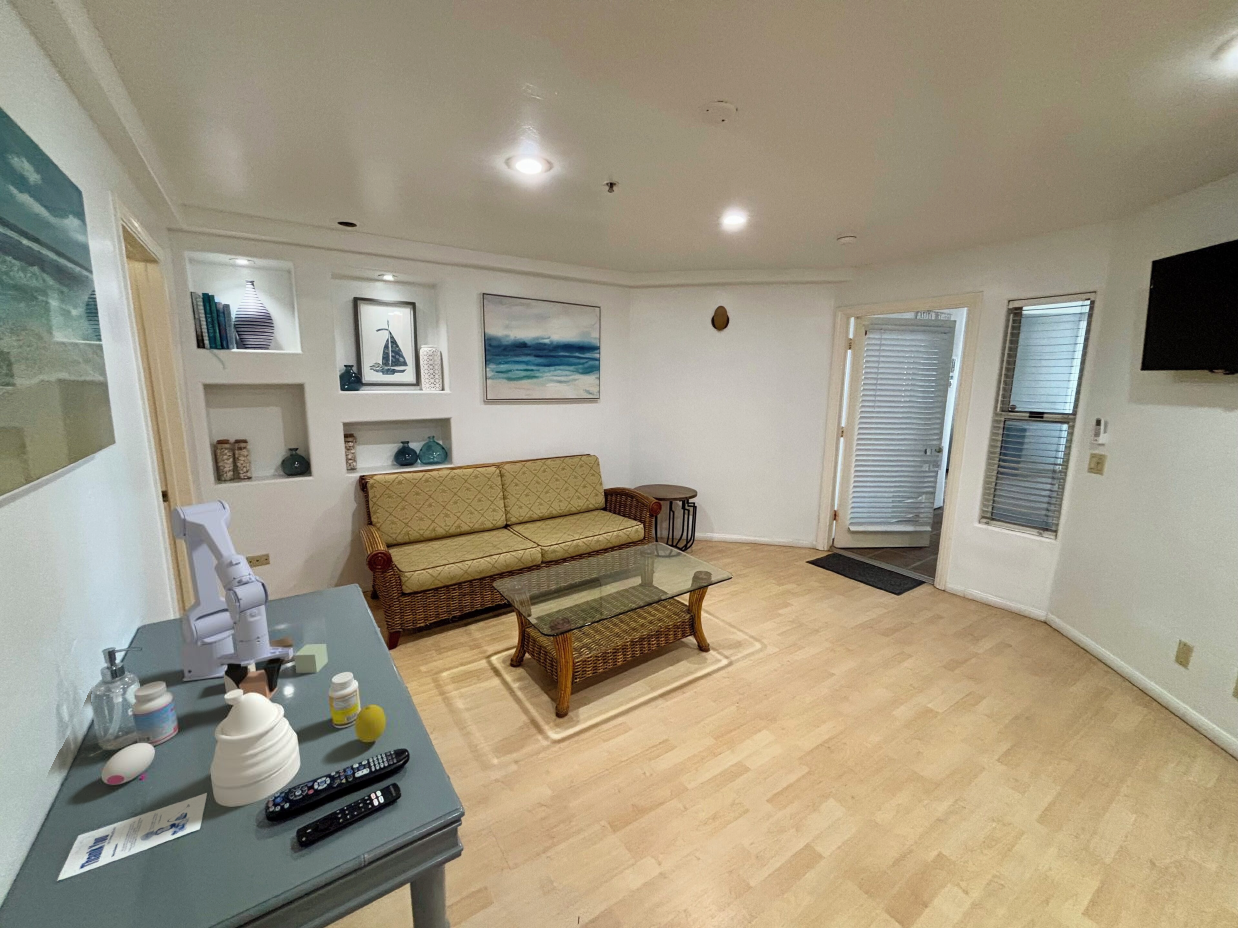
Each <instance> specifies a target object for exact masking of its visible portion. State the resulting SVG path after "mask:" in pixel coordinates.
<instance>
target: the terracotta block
mask: <svg viewBox="0 0 1238 928" xmlns="http://www.w3.org/2000/svg"><path fill="white" fill-rule="evenodd" d="M239 688H240V689H242V690H243V695H245V694H247V693H250V692H251V693H258V694H261V695H263V696H264V697H266V698H267V699H269V700H270V699H271V698H272V697H273V695H274V694H275V693H276V691H277V690H279V687H278V686H277V687H276V689H275V690H274V691H273V692H270V691H269V687H268V679H267V676H266V673H265V671H264V669H262V670H256V671H252V672H250V673H249V674H248V675H247V676H246V677H245V679H244V680H243V681H242V682H241V683H240V684H239Z"/></svg>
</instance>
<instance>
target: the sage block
mask: <svg viewBox="0 0 1238 928" xmlns="http://www.w3.org/2000/svg"><path fill="white" fill-rule="evenodd" d="M294 658H295V661H294V663H295V672H296V674H315V673H316V674H317V673H319V671H320V670H321V669H322V668H323V667H324V666H325V665H326V664H327V663H329V658H328V651H327V643H317V644H315V643H313V644H311V643H309V644H305V645H304V646H303V647H302V648H301V649H300V650H298V651H297V652H296V653H294Z"/></svg>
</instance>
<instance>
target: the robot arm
mask: <svg viewBox="0 0 1238 928" xmlns="http://www.w3.org/2000/svg"><path fill="white" fill-rule="evenodd" d="M231 519H232V514H231V509H230V506H229V505H228V503H227V502H226V501H225V500H224V499H223V500H222V499H219V500H217V501H211V502H205V503H204V502H203V503H199V504H192V505H186V506H175V507H173V509H172V510H170V514H169V520H170V526H171V531H172V535H173V538H174V539H175V540H183V542H184V545H185V549H186V555H187V562H188V567H189V573H190V579H191V585H192V591H193V595H194V602H193V604H191V605H190V606H189V607H188V608H187V609H186V610H184V611H183V613H182V616H181V619H182V620H181V621H182V624H181V629H182V635H183V636H184V637H183V638H184V639H185V641H186V642H184V645H183V646H182V649H181V662H182V667H183V675H184V677H183V679H182V681H183V682H187V681H188V682H189V681H196V680H204V679H213V678H224V671H225V675H226V676H228V677H229V678H230V679H231V680H232V681H233V682H234V683H235V685H236V686H237V688H238V689H240V688H239V684H240V683H241V682H242V681H243V680H244V679H245V677H246V676H247V675H248V666H250V665H252V664H253V663H255V664H256V663H261V662H267V663H265V665H264V666H263V667H262V670H264V671H265V673H266V676H267V679H268V687H269V691H270V692H273V691H274V690H275V689H276V687H278V682H279V681H278V680H279V676H280V673H281V672H280V671H281V669H282V667H283V665H282V664H283V661H284V659H285V660H290V659H291V658H292V656H293V655H295V653H294V654H293V650H294V647H293V648H281V647H270V644H269V642H270V638H269V629H268V621H267V614H266V606H265V605H266V604H268V602H269V600H270V597H269V596H270V595H269V590H268V587H267V585H266V583H265V581H264V580H263V579H261V578H260V577H259V575H255V574H254V572H253V570H252V568H251V566H250V564H249V563H248V561H247V559H246V557H245V556H244V555H241V554H237V552H236V549H235V547H234V544H233V542H232V541H233V540H231V539H232V538H231V536H230V533H229V532H228V529H229V528H230V524H231V523H230V522H231ZM215 560H216V561H217V562H216V563H215ZM218 579H219V581H220V583H221V585H222V587H223V589H224V591H225V594H224V597H222V596H221V594H220V588H219V587H220V586H219V582H218ZM233 634H234V636H235V644H236V650H237V651H235V650H234V644H233V643H234V642H233V636H232V635H233ZM226 667H227V669H226ZM225 669H226V670H225Z"/></svg>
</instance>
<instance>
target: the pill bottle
mask: <svg viewBox="0 0 1238 928" xmlns="http://www.w3.org/2000/svg"><path fill="white" fill-rule="evenodd" d="M133 696H134V700H135V702H134V703H133V704H132V707H131V714H132V719H133V725H134V730H135V735H136V740H137V743H148V744H150V745H152V746H153V747H155V746H158V745H161V744H163V743H165V742H168V740H170V739H172V738H174V736H176V735H177V733H178V731H179V725H178V724H179V723H178V717H177V712H176V706H175V701H174V696H173V694H172V693H171V692H170V691H167V684H166V681H163V680H162V681H161V680H158V681H153V682H149V683H147V684H144V685H142V686H140V687H138V688H137V689H136V690H134V692H133Z"/></svg>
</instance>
